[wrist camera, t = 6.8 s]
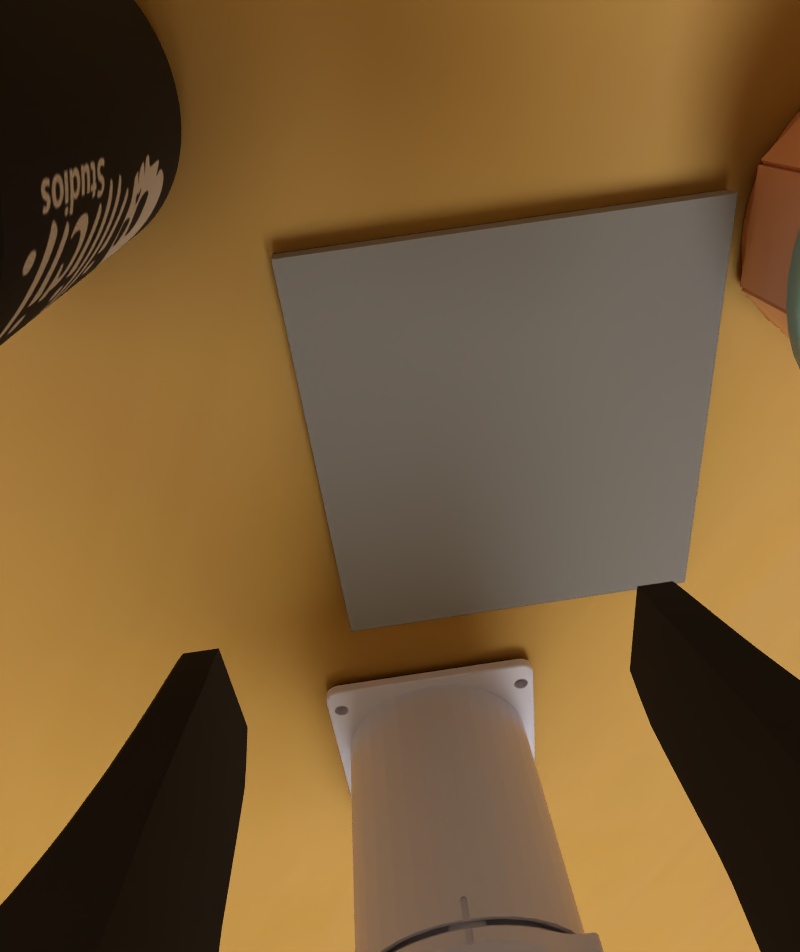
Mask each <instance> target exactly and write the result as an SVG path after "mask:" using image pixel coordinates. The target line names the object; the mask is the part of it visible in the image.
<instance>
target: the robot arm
mask: <svg viewBox="0 0 800 952" xmlns="http://www.w3.org/2000/svg"><path fill="white" fill-rule="evenodd" d="M630 672H631V674H632V677H633V680H634V682H635V685H636V688H637V691H638V693H639V696H640V699H641V701H642V704H643V706H644V709H645V711H646V714H647V717H648V719H649V722H650V724H651V726H652V728H653V730H654V732H655V734H656V736H657V738H658V740H659V742H660V744H661V746H662V748H663V750H664V752H665V754H666V756H667V758H668V760H669V761H670V763H671V765H672V767H673V769H674V771H675V773H676V775H677V777H678V779H679V781H680V782H681V784H682V786H683V788H684V790H685V792H686V794H687V796H688V798H689V799H690V801H691V803H692V805H693V807H694V809H695V811H696V813H697V815H698V817H699V818H700V820H701V822H702V824H703V826H704V828H705V830H706V832H707V834H708V836H709V837H710V839H711V841H712V843H713V845H714V847H715V849H716V851H717V853H718V855H719V857H720V859H721V861H722V863H723V865H724V867H725V869H726V871H727V873H728V876H729V878H730V880H731V882H732V884H733V886H734V889H735V891H736V894H737V896H738V898H739V901H740V903H741V906H742V908H743V910H744V913H745V915H746V918H747V920H748V922H749V925H750V927H751V929H752V932H753V934H754V937H755V939H756V941H757V944H758V946H759V949H760V951H761V952H800V680H799V679H797V678H796V677H795V676H793V675H792V674H791V673H789V672H788V671H787V670H785V669H784V668H783V667H781V666H780V665H779V664H777V663H776V662H775V661H773V660H772V659H771V658H769V657H768V656H767V655H765V654H764V653H763V652H761V651H760V650H759V649H757V648H756V647H755V646H754V645H752V644H751V643H750V642H748V641H747V640H746V639H744V638H743V637H742V636H741V635H739V634H738V633H737V632H736V631H734V630H733V629H732V628H731V627H729V626H728V625H727V624H726V623H724V622H723V621H722V620H721V619H719V618H718V617H717V616H716V615H714V614H713V613H712V612H711V611H709V610H708V609H707V608H706V607H704V606H703V605H702V604H701V603H699V602H698V601H697V600H696V599H694V598H693V597H692V596H691V595H690V594H688V593H687V592H686V591H684V590H683V589H682V588H681V587H679V586H678V585H677V584H676V583H674V582H673V581H670V582H663V583H656V584H650V585H643V586H637V596H636V607H635V618H634V630H633V641H632V652H631V663H630ZM519 679H522V680H519ZM517 680H519V681H517ZM327 706H328V710H329V714H330V718H331V722H332V725H333V729H334V733H335V737H336V741H337V744H338V748H339V752H340V756H341V760H342V764H343V767H344V771H345V775H346V779H347V783H348V786H349V790H350V794H351V798H352V836H353V878H354V919H355V952H603V948H602V945H601V942H600V939H599V935H598V934H596V933H586V934H585V933H584V930H583V927H582V923H581V920H580V916H579V913H578V909H577V906H576V903H575V899H574V896H573V892H572V889H571V885H570V882H569V879H568V875H567V872H566V868H565V865H564V861H563V858H562V854H561V851H560V848H559V844H558V841H557V837H556V834H555V830H554V827H553V824H552V820H551V817H550V813H549V810H548V806H547V803H546V800H545V796H544V793H543V789H542V786H541V782H540V779H539V776H538V772H537V769H536V765H535V731H534V682H533V669H532V666H531V663H530V662H529V661H528V660H525V659H513V660H506V661H500V662H493V663H486V664H480V665H473V666H466V667H460V668H453V669H446V670H439V671H433V672H426V673H419V674H413V675H406V676H399V677H393V678H386V679H379V680H372V681H366V682H359V683H352V684H346V685H339V686H335V687H332V688H331V689H329V690H328V692H327ZM339 706H344V707H339ZM246 753H247V725H246V722H245V719H244V716H243V714H242V711H241V708H240V705H239V703H238V700H237V697H236V695H235V692H234V689H233V686H232V684H231V681H230V678H229V675H228V673H227V670H226V667H225V664H224V662H223V659H222V656H221V653H220V651H219V649H212V650H205V651H198V652H192V653H185V654H183V655H182V656H181V657H180V658H179V660H178V661H177V663H176V664H175V666H174V668H173V669H172V671H171V672H170V674H169V675H168V677H167V679H166V680H165V682H164V684H163V685H162V687H161V688H160V690H159V692H158V693H157V695H156V696H155V698H154V699H153V701H152V703H151V704H150V706H149V707H148V709H147V711H146V712H145V714H144V715H143V717H142V718H141V720H140V721H139V723H138V725H137V726H136V728H135V729H134V731H133V732H132V734H131V735H130V737H129V738H128V740H127V741H126V743H125V744H124V745H123V747H122V748H121V750H120V751H119V753H118V754H117V756H116V757H115V759H114V760H113V762H112V763H111V765H110V766H109V768H108V769H107V771H106V772H105V773H104V775H103V776H102V778H101V779H100V781H99V782H98V783H97V785H96V786H95V787H94V789H93V790H92V791H91V793H90V794H89V796H88V797H87V798H86V800H85V801H84V802H83V804H82V805H81V806H80V808H79V809H78V810H77V812H76V813H75V815H74V816H73V817H72V819H71V820H70V821H69V823H68V824H67V825H66V827H65V828H64V829H63V831H62V832H61V833H60V834H59V836H58V837H57V838H56V839H55V841H54V842H53V843H52V845H51V846H50V847H49V848H48V850H47V851H46V852H45V853H44V855H43V856H42V857H41V858H40V859H39V861H38V862H37V863H36V864H35V866H34V867H33V868H32V869H31V870H30V872H29V873H28V874H27V875H26V876H25V877H24V879H23V880H22V881H21V882H20V883H19V885H18V886H17V887H16V888H15V889H14V891H13V892H12V893H11V894H10V895H9V896H8V897H7V899H6V900H5V901H4V902H3V903H2V904H1V905H0V952H219V945H220V938H221V930H222V923H223V917H224V911H225V905H226V899H227V893H228V887H229V881H230V875H231V869H232V863H233V857H234V851H235V845H236V839H237V833H238V827H239V820H240V814H241V808H242V802H243V795H244V788H245V773H246Z"/></svg>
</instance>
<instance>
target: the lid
mask: <svg viewBox="0 0 800 952" xmlns="http://www.w3.org/2000/svg"><path fill="white" fill-rule="evenodd" d="M786 311H787V324H788V333H789V337H790V342H791V346H792V350H793V354H794V357H795V359H796V361H797V364H798V366H799V368H800V228H799V232H798V235H797V238H796V241H795V244H794V248H793V253H792V259H791V264H790V269H789V274H788V283H787V299H786Z"/></svg>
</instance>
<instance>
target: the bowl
mask: <svg viewBox="0 0 800 952" xmlns="http://www.w3.org/2000/svg"><path fill="white" fill-rule="evenodd" d="M761 161H762V162H763V164H762V165H758V169H757V176H756V181H755V183H754V186H753V189H752V192H751V195H750V198H749V201H748V204H747V208H746V213H745V218H744V223H743V231H742V243H741V250H742V265H743V270H742V277H741V284H740V286H741V287H743V289H742V291H743V293H744V294H745V295H746V296H747V297H748V298H749V299H750V300H751V301H752V302H753V303H754V304H755V305H756V306H757V307H758V308H759V309H760V311H761V312H762V313H763V314H764V316H765V317H766V318H767V319H768V320H769V321H770V322H772V323H773V324H774V325H775V326H776V327H777V328H779V329H780V330H781V331H782V332H783V333H784V334H785V335H786V336H787V337H788V338H789V339H790V337H789V333H788V324H787V311H786V299H787V283H788V274H789V269H790V264H791V259H792V253H793V248H794V244H795V241H796V238H797V235H798V232H799V228H800V110H799V112H798V113H797V114H796V115H795V116H794V118H793V119H792V120H791V121H790V122H789V124H788V125H787V126H786V128H785V129H784V131H783V132H782V134H781V135H780V136H779V138H778V139H777V141H776V142H775V144H774V145H773V147H772V148H771V149H770V150H769V151H768V152H767V153H766V154H765V156H764V157H763V158H762V159H761Z"/></svg>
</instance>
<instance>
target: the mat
mask: <svg viewBox="0 0 800 952" xmlns="http://www.w3.org/2000/svg"><path fill="white" fill-rule="evenodd" d="M737 196H738V193H736V192H732V191H729V190H720V191H713V192H706V193H699V194H692V195H685V196H678V197H671V198H664V199H657V200H650V201H643V202H636V203H629V204H622V205H615V206H608V207H601V208H594V209H587V210H580V211H573V212H566V213H559V214H552V215H545V216H538V217H531V218H524V219H517V220H510V221H502V222H495V223H488V224H481V225H474V226H467V227H460V228H453V229H446V230H439V231H432V232H425V233H418V234H411V235H404V236H397V237H390V238H383V239H376V240H369V241H362V242H355V243H348V244H341V245H334V246H327V247H320V248H313V249H306V250H299V251H292V252H285V253H277V254H273V255H272V258H271V262H272V266H273V271H274V276H275V280H276V285H277V290H278V294H279V299H280V303H281V308H282V313H283V317H284V322H285V327H286V331H287V336H288V341H289V345H290V350H291V355H292V359H293V364H294V368H295V373H296V378H297V382H298V387H299V392H300V396H301V401H302V406H303V410H304V415H305V419H306V424H307V429H308V433H309V438H310V443H311V447H312V452H313V457H314V461H315V466H316V471H317V475H318V480H319V484H320V489H321V494H322V498H323V503H324V508H325V512H326V517H327V522H328V526H329V531H330V536H331V540H332V545H333V549H334V554H335V559H336V563H337V568H338V573H339V577H340V582H341V587H342V591H343V596H344V601H345V605H346V610H347V614H348V619H349V624H350V628H351V632H352V631H359V630H366V629H373V628H379V627H386V626H393V625H400V624H406V623H413V622H420V621H427V620H433V619H440V618H447V617H454V616H460V615H467V614H474V613H480V612H487V611H494V610H501V609H507V608H514V607H521V606H528V605H534V604H541V603H548V602H555V601H561V600H568V599H575V598H582V597H588V596H595V595H602V594H608V593H615V592H622V591H629V590H635V589H637V586H643V585H650V584H656V583H663V582H670V581H673V582H674V583H683V582H685V576H686V569H687V562H688V554H689V547H690V540H691V532H692V525H693V518H694V511H695V503H696V496H697V489H698V481H699V474H700V467H701V459H702V452H703V445H704V437H705V430H706V423H707V415H708V408H709V401H710V393H711V386H712V379H713V372H714V364H715V357H716V350H717V342H718V335H719V328H720V320H721V313H722V306H723V298H724V291H725V284H726V276H727V269H728V262H729V255H730V247H731V240H732V233H733V225H734V218H735V211H736V203H737Z"/></svg>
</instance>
